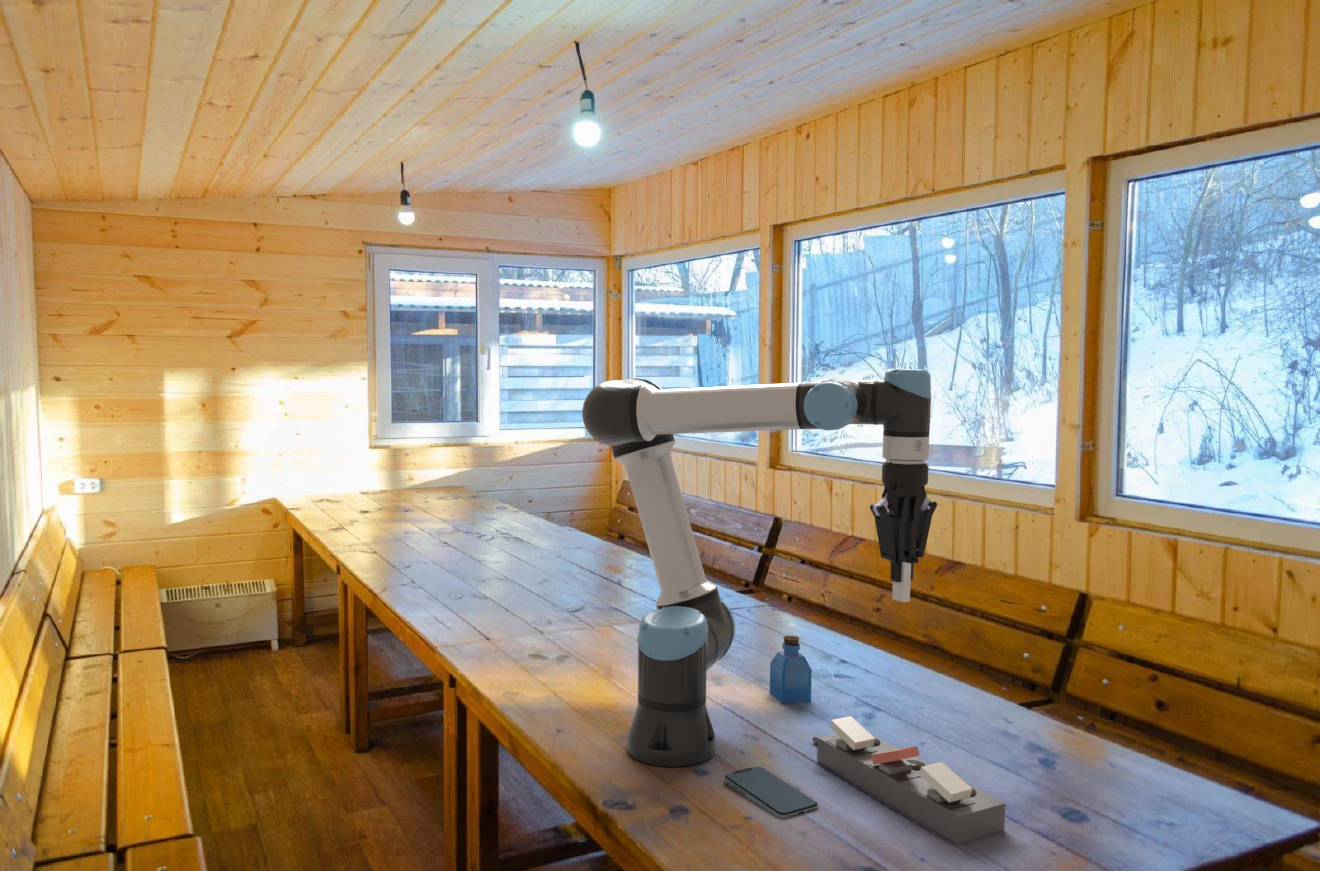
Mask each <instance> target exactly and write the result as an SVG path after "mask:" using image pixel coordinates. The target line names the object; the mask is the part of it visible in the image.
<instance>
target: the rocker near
mask: <svg viewBox="0 0 1320 871" xmlns="http://www.w3.org/2000/svg"><path fill="white" fill-rule="evenodd" d="M929 764H930V763H929ZM919 775H920V776H921V777H922V778H923V779H924V780H925V781H926V782H928V783H929V784H930V785H931V786H932V787H933V788H934V789H935V790H936V791H937V792H938V793H939V794H941V795H942V796H943V797H944V798H945V799H946V800H947V801H948V802H949V803H950V802H953V801H957V800H961V799H965V798H968V797H970V796H971V793H972V788H971V787H970V786H969V785H970V784H969V785H968V783H967V784H966V782H965V781H964V780H963V779H962V778H961V777H960V776H959V775H957V774H956V772H954V771H953V770H952V769H951V768H950V767H948V766H947V765H946V764H945V763H944V762H943V761H940V762H934V763H931V764H930V765H926V766H922V767H921V769H920V773H919Z"/></svg>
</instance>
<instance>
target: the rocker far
mask: <svg viewBox="0 0 1320 871" xmlns="http://www.w3.org/2000/svg"><path fill="white" fill-rule="evenodd" d="M829 728H830V729H831V730H832V731H833V732H834V734H838V735H839V736H840V737H841V738H842V739H843V740H844V741H845V742H846V743H847V744H848V745H849V746H850V747H851V748H852V749H853V750H857V749H861V748H866V747H870V746H873V745H874V741H875V738H874V737H873V736H874V735H873V734H872V733H870V732H869V731H868V730H866V728H864V727H863V726H862V725H861V723H859V722H858V721H857V720H856V719H855V718H853V717H852V716H851V715H849V716H845V717H840V718H839V717H838V718H835V719H831V721H830V726H829ZM871 734H872V735H873V736H872V735H871Z"/></svg>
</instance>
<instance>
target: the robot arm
mask: <svg viewBox="0 0 1320 871" xmlns="http://www.w3.org/2000/svg"><path fill="white" fill-rule="evenodd" d="M884 373H885V374H884V376H883V379H878V380H877V379H874V380H867V379H842V378H829V379H818V380H816V381H807V382H806V381H805V382H788V383H787V382H785V383H767V384H766V383H765V384H747V385H746V384H745V385H730V386H729V385H725V386H723V385H722V386H710V387H709V386H708V387H707V386H706V387H688V388H687V387H685V388H682V387H681V388H669V389H668V388H666V389H665V388H663V387H662V386H660V385H659V383H658V384H657V383H655V382H653V381H652V380H648V379H645V378H637V377H636V378H630V379H619V380H618V379H615V380H613V379H612V380H607V381H603V382H601V383H599V384H597V385H596V386H595V387H593V388H592V389H591V390H590V391H589V393H588V394H587V396H586V398H585V400H583V405H582V413H581V414H582V415H581V416H582V417H581V418H582V421H583V425H584V427H585V429H586V430H587V432H588V434H589V435H590V436H591V437H592V438H593V439H594V440H595V441H597V442H598V443H600V444H603V445H606V446H610V449H611V452H612V455H613V459H614V461H616V462H618V463H619V464H621V465H623V466H624V467H625V471H626V474H627V475H626V476H627V478H628V482H629V485H630V488H631V491H632V494H633V499H634V502H635V506H636V508H637V512H638V516H639V519H640V523H641V526H642V530H643V534H644V537H645V541H646V543H647V547H648V548H647V549H648V550H649V555H650V558H651V561H652V565H653V567H654V573H655V575H656V578H657V583H658V586H659V589H660V594H659V596H658V598H657V600H656V601H655V606H656V608H655V609H653V610H651V611H649V612H647V613H646V614H644V616H642V618H641V620H640V622H639V627H638V632H637V639H636V640H637V706H636V709H635V712H634V714H633V718H632V721H631V724H630V727H629V730H628V733H627V737H626V751H627V753H628V755H629V756H631V757H632V758H634V759H635V760H637V761H639V762H642V763H644V764H647V765H648V764H649V765H653V766H659V767H668V768H669V767H675V768H677V767H688V766H694V765H698V764H701V763H704V762H706V761H708V760H709V759H711V758H712V757H714V755H715V754H716V750H717V749H716V748H717V746H716V745H717V744H716V743H717V741H716V734H715V732H714V727H713V725H712V724H713V723H712V722H711V717H710V715H709V711H708V709H707V672H708V670H710V668H712V667H713V666H714V665H715V664H716V663H717V662H718V661H720V660H721V659H722V658H724V656H725V655H727V653H728V652H729V650H730V648H731V646H732V644H733V641H734V639H735V636H736V620H735V616H734V614H733V612H732V610H731V608H730V607H729V605H727V604H726V602H724V601H722V600H721V596H720V593H719V590H718V586H717V584H715V583H713V582H711V581H709V580H708V579H707V578H706V574H705V571H704V566H703V564H702V560H701V558H700V553H699V550H698V547H697V543H696V540H695V539H696V538H695V536H694V532H693V529H692V527H691V526H692V525H691V522H690V519H689V515H688V512H687V509H686V508H687V507H686V505H685V501H684V498H683V495H682V491H681V487H680V484H679V483H680V482H679V481H678V477H677V474H676V470H675V467H674V463H673V460H672V456H671V451H672V449H673V448H674V446H675V445H676V440H675V438H674V436H675V435H681V434H682V435H684V434H685V435H686V434H706V433H711V434H712V433H736V432H738V433H739V432H761V431H762V432H765V431H792V430H823V431H837V430H840V429H843V428H845V427H846V426H848V425H874V426H877V425H878V426H879V425H880V426H881V425H882V427H883V432H882V433H883V434H882V455H881V457H882V459H884V460H885V461H883V463H882V466H881V467H882V468H881V482H882V483H883V486H884V488H883V491H882V494H881V499H880V500H879V501H878V502H877V503H871V504H870V506H869V509H870V511H871V513H872V515H873V517H874V521H875V522H874V523H875V528H876V534H877V541H878V548H879V552H880V557H881V558H882V559H884V560H887V561H889V562H890V573H889V574H890V577H889V578H890V581H891V582H892V595H891V596H892V597H891V598H892V600H894V601H898V602H901V603H908V602H911V581H913V579H914V564H918V563H919V560H920V559H921V558H923V557H924V555H925V551H926V547H927V542H928V537H929V532H930V529H931V523H932V518H933V515H934V513H935V511H936V509H937V507H938V502H937V501H934V500H931V499H929V498H928V496H927V491H926V486H927V485H928V483H929V464H928V463H927V462H926V461H927V460H929V455H930V454H929V453H930V451H929V450H930V430H931V429H930V428H931V427H930V426H931V410H932V408H931V407H932V406H931V405H932V392H931V390H932V389H931V387H932V386H931V382H932V380H931V374H930V372H928V371H927V370H926V369H920V368H918V369H917V368H915V369H914V368H888V369H886V371H885V372H884ZM919 558H920V559H919Z"/></svg>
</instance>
